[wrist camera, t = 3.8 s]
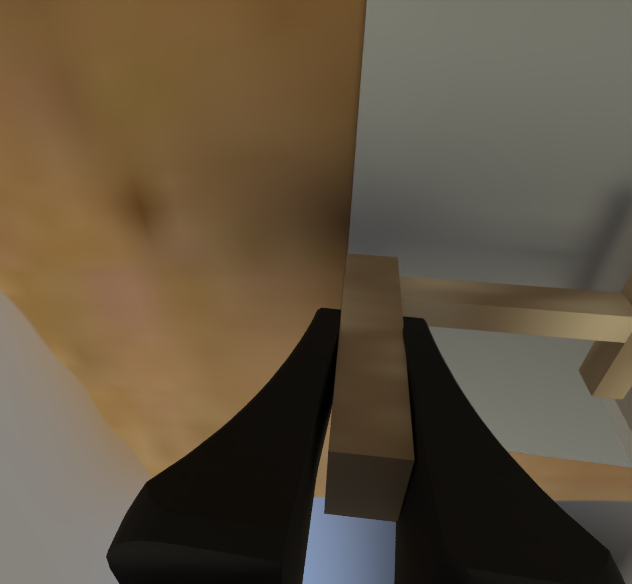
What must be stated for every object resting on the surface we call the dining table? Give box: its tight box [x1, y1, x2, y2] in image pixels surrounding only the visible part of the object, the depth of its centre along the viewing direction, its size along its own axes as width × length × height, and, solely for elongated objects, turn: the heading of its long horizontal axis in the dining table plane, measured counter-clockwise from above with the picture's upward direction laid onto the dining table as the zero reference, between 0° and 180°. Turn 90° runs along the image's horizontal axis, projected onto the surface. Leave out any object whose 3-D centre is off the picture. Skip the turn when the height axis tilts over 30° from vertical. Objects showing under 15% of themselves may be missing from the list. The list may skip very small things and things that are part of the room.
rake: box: [324, 253, 632, 522], centre depth 11 cm, size 10×6×7 cm, turn 89°
